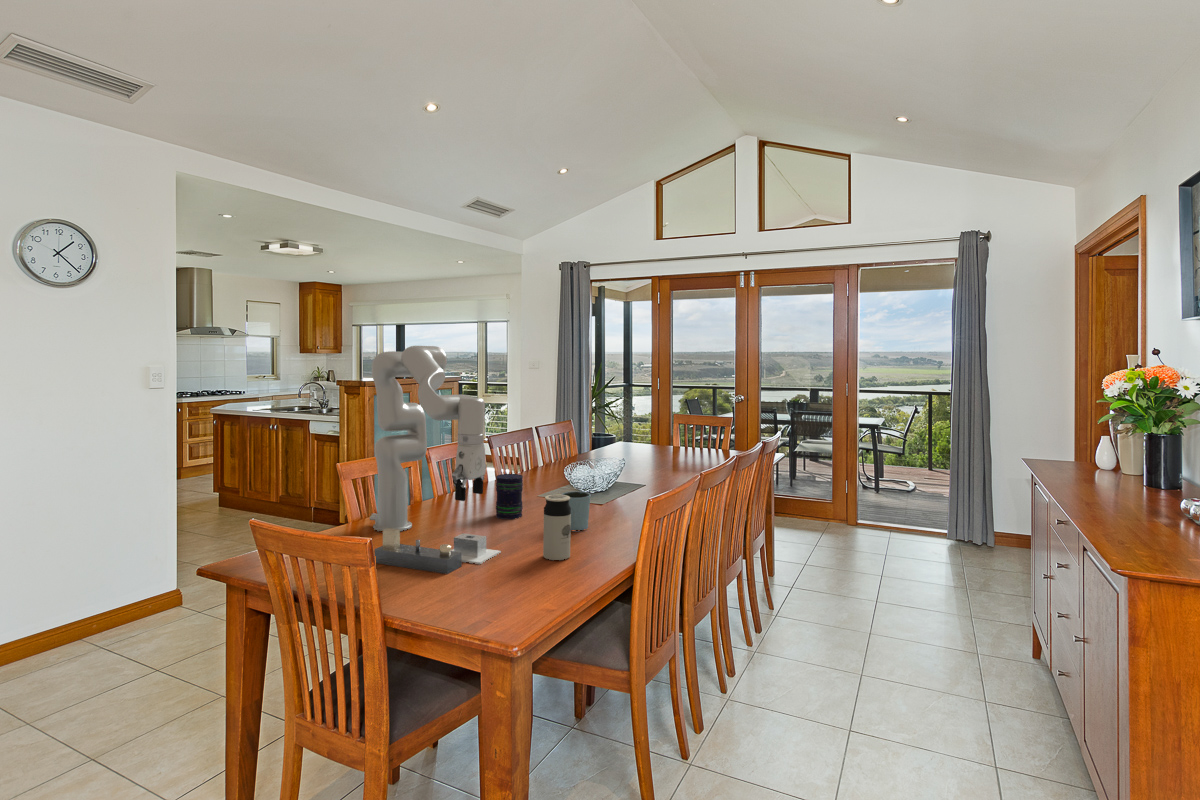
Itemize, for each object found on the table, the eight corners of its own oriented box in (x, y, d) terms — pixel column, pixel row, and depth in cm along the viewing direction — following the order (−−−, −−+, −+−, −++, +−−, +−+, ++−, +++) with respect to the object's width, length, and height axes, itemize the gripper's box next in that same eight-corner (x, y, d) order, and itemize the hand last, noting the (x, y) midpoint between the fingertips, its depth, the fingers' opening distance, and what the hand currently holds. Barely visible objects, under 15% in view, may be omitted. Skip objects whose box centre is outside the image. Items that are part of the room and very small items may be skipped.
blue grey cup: (591, 525, 227) (592, 491, 227) (588, 533, 217) (588, 498, 217) (563, 524, 228) (563, 490, 228) (558, 531, 218) (559, 496, 218)
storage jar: (492, 514, 241) (492, 474, 240) (517, 511, 245) (518, 473, 244) (499, 520, 232) (500, 479, 231) (525, 518, 236) (526, 477, 235)
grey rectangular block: (453, 554, 189) (453, 537, 189) (462, 549, 194) (463, 533, 193) (477, 557, 186) (477, 540, 186) (486, 552, 191) (486, 536, 191)
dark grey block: (374, 562, 182) (374, 531, 181) (390, 555, 188) (390, 525, 188) (447, 574, 174) (447, 541, 173) (461, 566, 180) (461, 534, 180)
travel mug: (537, 556, 191) (538, 496, 190) (559, 551, 196) (560, 493, 195) (553, 563, 185) (554, 501, 184) (575, 557, 190) (576, 497, 189)
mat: (438, 558, 187) (438, 556, 187) (460, 547, 198) (460, 545, 198) (480, 564, 182) (480, 562, 182) (500, 552, 193) (500, 550, 193)
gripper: (465, 444, 179) (464, 504, 180) (496, 437, 195) (495, 492, 196) (442, 442, 181) (441, 501, 183) (474, 434, 197) (473, 489, 199)
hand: (469, 496), depth 189 cm, fingers open, 9 cm apart
